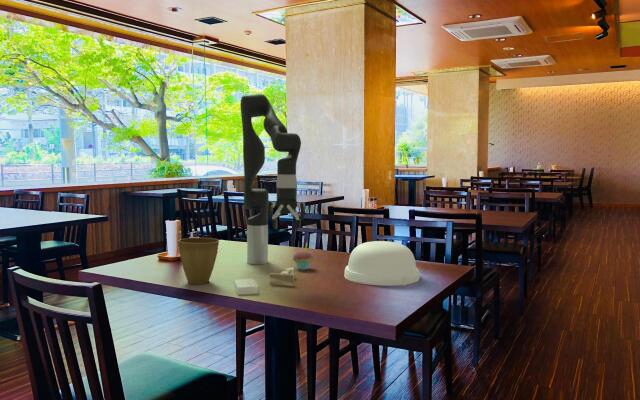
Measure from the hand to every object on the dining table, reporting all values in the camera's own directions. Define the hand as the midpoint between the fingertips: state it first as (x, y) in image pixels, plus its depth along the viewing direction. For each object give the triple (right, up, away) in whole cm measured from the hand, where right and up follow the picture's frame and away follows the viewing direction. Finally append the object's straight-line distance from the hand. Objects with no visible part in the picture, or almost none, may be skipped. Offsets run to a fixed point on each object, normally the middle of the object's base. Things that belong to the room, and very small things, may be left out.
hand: (286, 229), depth 197 cm
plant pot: (-33, -20, -1) cm, 38 cm away
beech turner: (0, -20, +2) cm, 20 cm away
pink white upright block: (-15, -19, -7) cm, 25 cm away
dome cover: (+37, -20, +11) cm, 44 cm away
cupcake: (+5, -18, +26) cm, 32 cm away
